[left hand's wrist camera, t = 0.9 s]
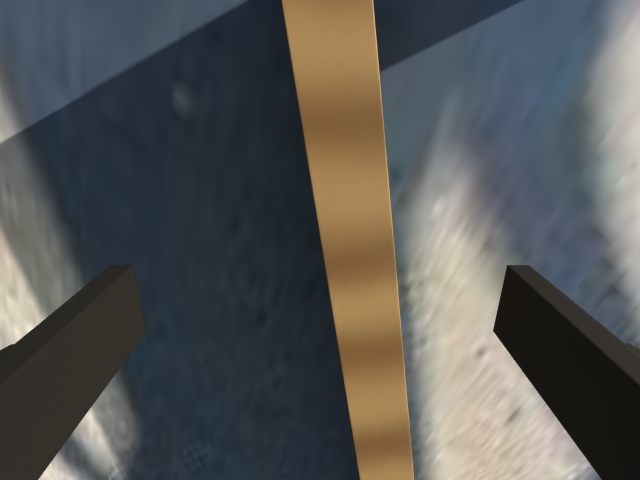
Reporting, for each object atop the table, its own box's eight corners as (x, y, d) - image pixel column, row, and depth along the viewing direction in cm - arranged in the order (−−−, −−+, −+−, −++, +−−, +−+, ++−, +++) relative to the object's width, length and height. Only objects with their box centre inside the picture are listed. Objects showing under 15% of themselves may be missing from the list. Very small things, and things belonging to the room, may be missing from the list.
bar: (284, -21, 26) (269, -71, 18) (351, -34, 26) (365, -90, 18) (379, 578, 53) (389, 659, 45) (412, 574, 52) (429, 656, 45)
